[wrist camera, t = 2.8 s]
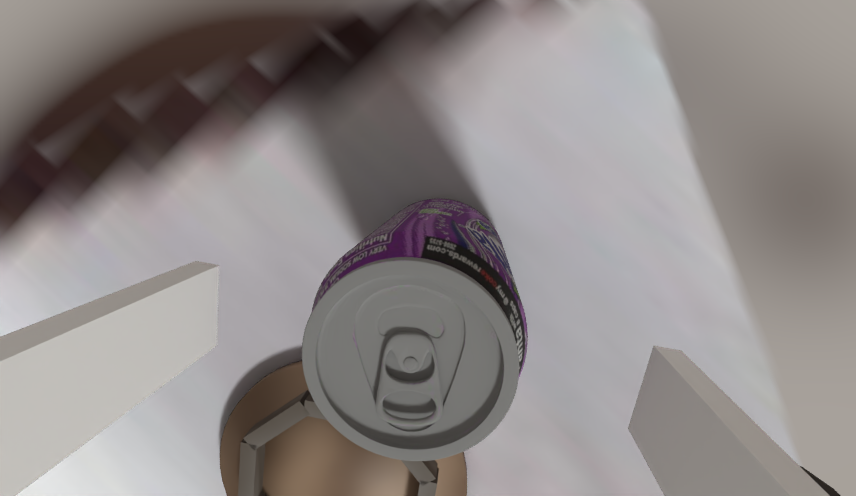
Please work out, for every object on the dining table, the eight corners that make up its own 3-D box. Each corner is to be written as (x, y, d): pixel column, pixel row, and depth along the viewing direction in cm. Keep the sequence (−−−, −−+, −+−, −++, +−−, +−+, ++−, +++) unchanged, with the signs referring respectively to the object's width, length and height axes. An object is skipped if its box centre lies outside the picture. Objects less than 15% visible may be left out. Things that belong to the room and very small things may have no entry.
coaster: (222, 541, 29) (204, 568, 27) (231, 335, 26) (211, 350, 24) (445, 592, 28) (443, 624, 26) (488, 384, 24) (489, 404, 23)
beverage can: (501, 322, 24) (528, 485, 12) (379, 316, 24) (293, 465, 13) (507, 198, 22) (546, 246, 10) (376, 196, 23) (276, 238, 11)
